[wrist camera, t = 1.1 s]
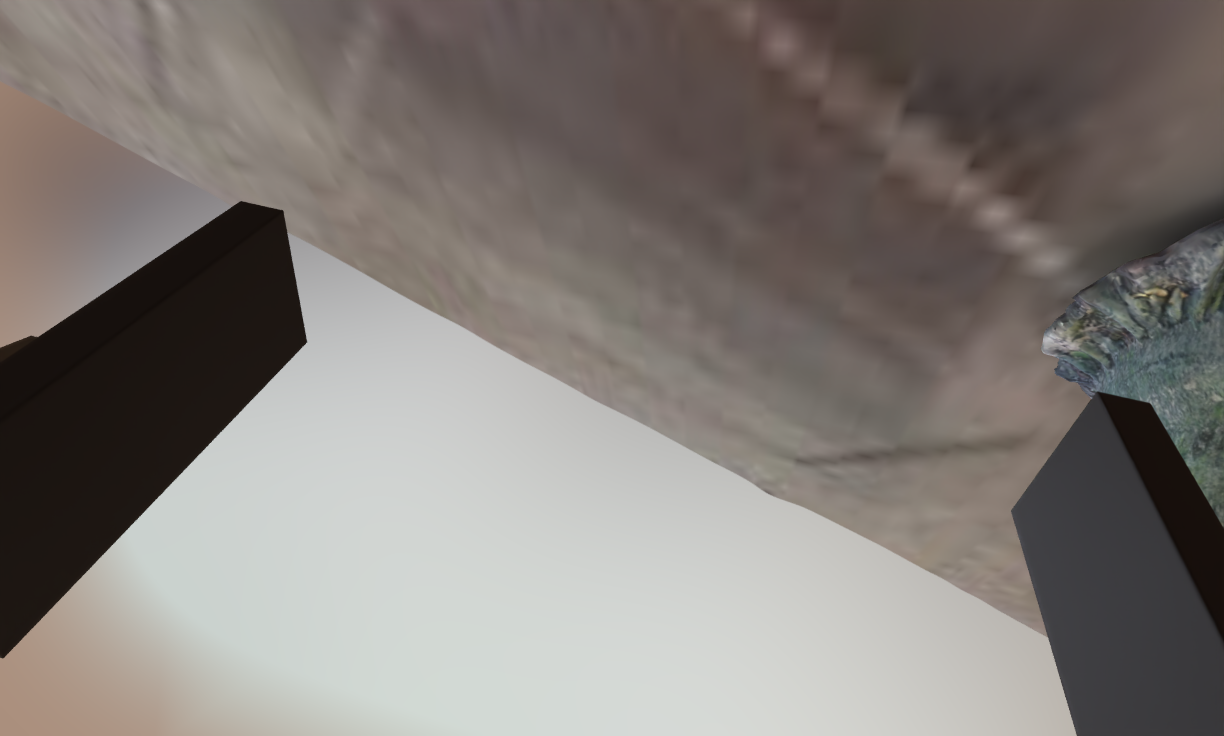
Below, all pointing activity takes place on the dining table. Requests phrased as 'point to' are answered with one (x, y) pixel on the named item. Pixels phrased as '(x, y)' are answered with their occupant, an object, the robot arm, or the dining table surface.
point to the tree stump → (1158, 346)
